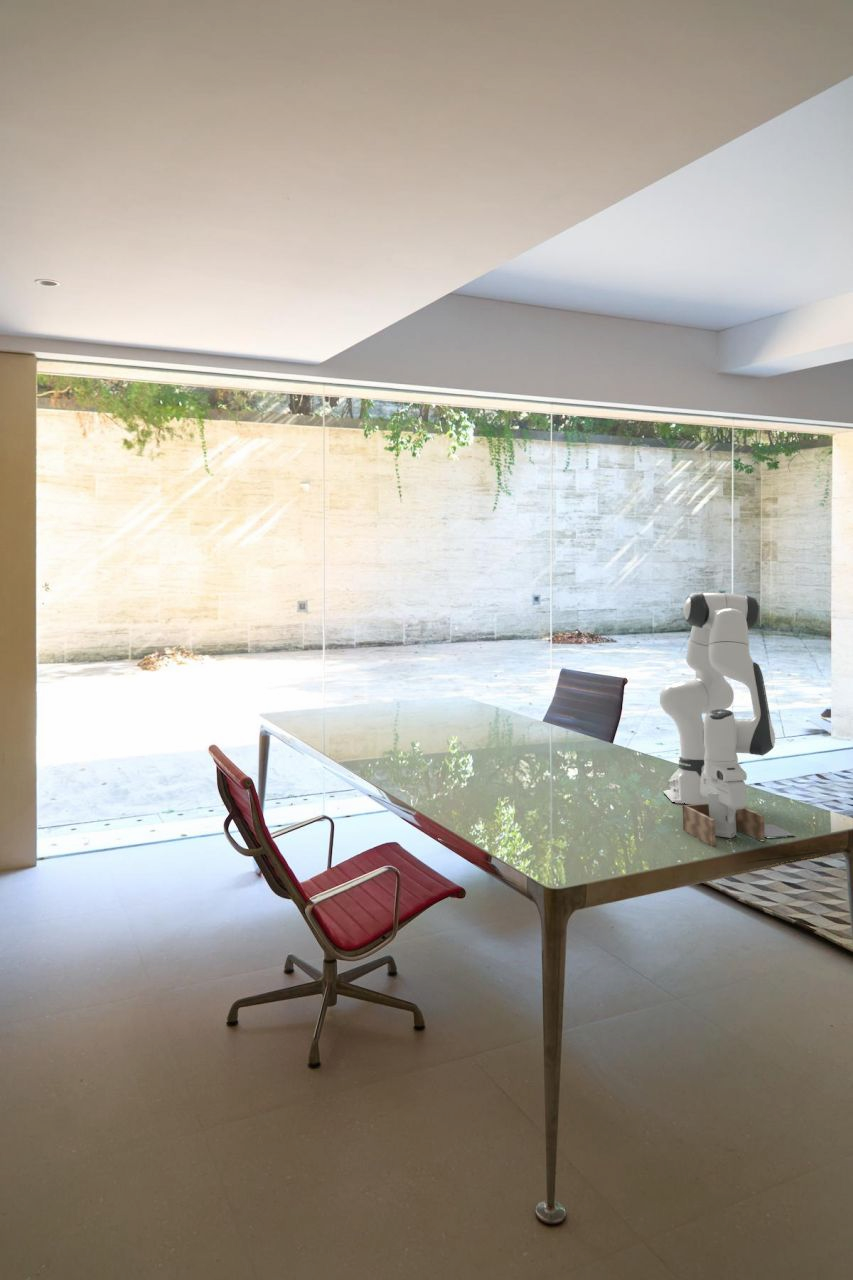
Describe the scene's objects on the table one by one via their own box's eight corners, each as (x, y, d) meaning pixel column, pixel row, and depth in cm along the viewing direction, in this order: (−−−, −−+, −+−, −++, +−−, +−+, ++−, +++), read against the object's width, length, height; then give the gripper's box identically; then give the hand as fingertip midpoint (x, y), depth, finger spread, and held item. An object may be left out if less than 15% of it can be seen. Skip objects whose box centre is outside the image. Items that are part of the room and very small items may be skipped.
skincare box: (737, 835, 257) (735, 791, 256) (729, 838, 253) (728, 795, 253) (716, 832, 261) (714, 789, 260) (708, 835, 258) (707, 792, 257)
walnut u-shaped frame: (683, 829, 265) (682, 805, 265) (732, 825, 267) (732, 801, 267) (712, 846, 247) (711, 820, 247) (764, 841, 249) (763, 815, 249)
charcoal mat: (746, 828, 264) (746, 826, 264) (772, 826, 265) (772, 824, 265) (767, 838, 252) (767, 837, 252) (795, 836, 253) (795, 834, 253)
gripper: (693, 763, 266) (695, 811, 267) (727, 776, 246) (729, 828, 247) (714, 762, 267) (716, 809, 268) (749, 775, 247) (751, 826, 247)
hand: (722, 818), depth 257 cm, fingers closed on skincare box, 7 cm apart
